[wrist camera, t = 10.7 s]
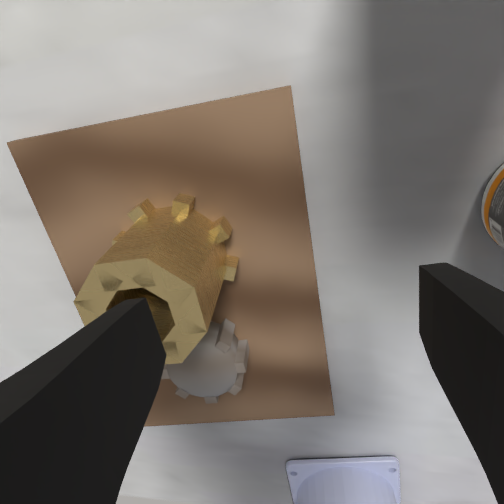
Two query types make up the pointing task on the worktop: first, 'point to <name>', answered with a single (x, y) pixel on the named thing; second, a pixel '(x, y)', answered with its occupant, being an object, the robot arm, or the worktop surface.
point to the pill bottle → (494, 207)
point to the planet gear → (164, 272)
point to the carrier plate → (238, 244)
